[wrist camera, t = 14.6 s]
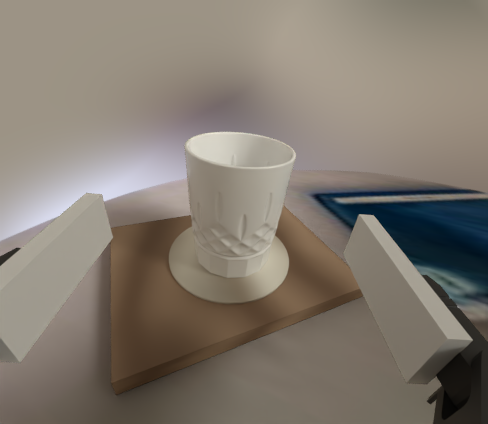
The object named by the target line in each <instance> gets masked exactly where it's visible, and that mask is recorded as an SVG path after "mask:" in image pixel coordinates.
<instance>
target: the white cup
mask: <svg viewBox="0 0 488 424" xmlns="http://www.w3.org/2000/svg"><path fill="white" fill-rule="evenodd" d="M185 155H186V168H187V180H188V193H189V204H190V212H191V221H192V230H193V234H194V243H195V252H196V255H197V259H198V262H199V264H201V265H202V266H203V267H204V268H205V269H206V270H208V271H209V272H210V273H212V274H216V275H219V276H222V277H225V278H241V277H247V276H249V275H251V274H254V273H256V272H258V271H260V270H261V268H262V267H263V266H264V264H265V263H266V262H267V260H268V257H269V253H270V249H271V245H272V241H273V238H274V236H275V233H276V230H277V226H278V222H279V219H280V216H281V212H282V209H283V205H284V201H285V197H286V193H287V189H288V185H289V181H290V177H291V174H292V170H293V166H294V162H295V158H296V153H295V151H294V150H293V149H292V148H291V147H289V146H288V145H287V144H285V143H283V142H281V141H278V140H275V139H272V138H268V137H265V136H261V135H256V134H249V133H240V132H213V133H206V134H201V135H197V136H195V137H192V138H190V139H189V140H188V141H186V143H185Z"/></svg>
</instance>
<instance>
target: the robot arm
mask: <svg viewBox="0 0 488 424" xmlns="http://www.w3.org/2000/svg"><path fill="white" fill-rule="evenodd" d="M112 238H113V235H112V232H111V228H110V224H109V220H108V216H107V212H106V208H105V205H104V201H103V197H102V194H91V193H86V194H85V195H84V196H82V197H81V198H80V199H79V200H78V201H76V202H75V203H74V204H73V205H72V206H71V207H69V208H68V209H67V210H66V211H65V212H64V213H62V214H61V215H60V216H59V217H58V218H56V219H55V220H54V221H53V222H52V223H50V224H49V225H48V226H47V227H46V228H45V229H43V230H42V231H41V232H40V233H39V234H38V235H36V236H35V237H34V238H33V239H32V240H30V241H29V242H28V243H27V244H26V245H25V246H23V247H22V248H15V249H14V250H12V251H10V252H8V253H6V254H4V255H2V256H0V362H13V363H21V361H22V360H23V359H24V357H25V356H26V355H27V353H28V352H29V350H30V349H31V348H32V346H33V345H34V344H35V342H36V341H37V340H38V338H39V337H40V336H41V334H42V333H43V332H44V330H45V329H46V328H47V326H48V325H49V323H50V322H51V321H52V319H53V318H54V317H55V315H56V314H57V313H58V311H59V310H60V309H61V307H62V306H63V305H64V303H65V302H66V301H67V299H68V298H69V296H70V295H71V294H72V292H73V291H74V290H75V288H76V287H77V286H78V284H79V283H80V282H81V280H82V279H83V278H84V276H85V275H86V274H87V272H88V271H89V269H90V268H91V267H92V265H93V264H94V263H95V261H96V260H97V259H98V257H99V256H100V255H101V253H102V252H103V251H104V249H105V248H106V247H107V245H108V244H109V242H110V241H111V240H112ZM343 255H344V257H345V259H346V261H347V263H348V265H349V267H350V269H351V271H352V273H353V275H354V277H355V279H356V281H357V283H358V286H359V288H360V290H361V292H362V294H363V296H364V298H365V300H366V302H367V304H368V306H369V308H370V310H371V312H372V314H373V316H374V318H375V320H376V322H377V325H378V327H379V329H380V331H381V333H382V335H383V337H384V339H385V341H386V343H387V345H388V347H389V349H390V351H391V353H392V355H393V357H394V359H395V362H396V364H397V366H398V368H399V370H400V372H401V374H402V376H403V378H404V380H405V382H406V383H412V384H428V383H429V382H430V381H431V380H432V379H433V378H434V377H435V376H437V378H438V379H439V381H440V383H441V384H442V386H441V387H440V388H439V389H438V390H437V391H436V392H434V393H433V394H432V395H431V396H430V397H429V399H428V400H427V402H428V403H429V404H431V403H433V402H434V401H435V400H436V399H437V401H436V408H435V415H434V422H433V424H488V342H487V341H486V340H485V338H484V337H483V336H482V335H481V334H480V332H479V331H478V330H477V329H476V328H475V326H474V325H473V324H472V323H471V322H470V321H469V319H468V318H467V317H466V316H465V315H464V313H463V312H462V311H461V310H460V309H459V308H457V305H456V304H455V303H454V302H453V300H452V299H449V296H448V294H447V293H446V292H445V291H444V290H443V289H442V287H441V286H440V285H439V284H437V283H436V282H435V281H434V280H432V279H431V278H430V277H428V276H427V275H421V274H420V273H419V272H418V271H417V269H416V268H415V267H414V266H413V264H412V263H411V262H410V260H409V259H408V258H407V257H406V255H405V254H404V253H403V252H402V250H401V249H400V248H399V247H398V245H397V244H396V243H395V242H394V240H393V239H392V238H391V237H390V235H389V234H388V233H387V232H386V230H385V229H384V228H383V227H382V225H381V224H380V223H379V222H378V220H377V219H376V218H375V217H374V215H362V214H359V216H358V218H357V221H356V223H355V226H354V228H353V231H352V233H351V236H350V238H349V241H348V243H347V246H346V248H345V251H344V253H343Z"/></svg>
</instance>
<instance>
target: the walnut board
mask: <svg viewBox="0 0 488 424" xmlns="http://www.w3.org/2000/svg"><path fill="white" fill-rule="evenodd" d="M111 232H112V235H113V238H112V240H111V241H110V245H111V384H112V386H113V389H114V391H115V393H116V395H118V394H120V393H123V392H125V391H128V390H130V389H133V388H135V387H138V386H140V385H143V384H145V383H148V382H150V381H153V380H155V379H158V378H160V377H163V376H165V375H168V374H170V373H173V372H175V371H178V370H180V369H183V368H185V367H188V366H190V365H193V364H195V363H198V362H200V361H203V360H205V359H208V358H210V357H213V356H215V355H218V354H220V353H223V352H225V351H228V350H230V349H233V348H235V347H238V346H240V345H243V344H245V343H248V342H250V341H252V340H255V339H257V338H260V337H262V336H265V335H267V334H270V333H272V332H275V331H277V330H280V329H282V328H285V327H287V326H290V325H292V324H295V323H297V322H300V321H302V320H305V319H307V318H310V317H312V316H315V315H317V314H320V313H322V312H325V311H327V310H330V309H332V308H335V307H337V306H340V305H342V304H345V303H347V302H350V301H352V300H355V299H357V298H360V297H362V296H363V294H362V292H361V290H360V288H359V286H358V283H357V281H356V279H355V277H354V275H353V273H352V271H351V269H350V267H349V266H348V265H347V264H346V263H345V262H343V261H342V260H341V259H340V258H339V257H338V256H337V255H336V254H335V253H334V252H333V251H332V250H331V249H330V248H328V247H327V246H326V245H325V244H324V243H323V242H322V241H321V240H320V239H319V238H318V237H317V236H316V235H315V234H314V233H312V232H311V231H310V230H309V229H308V228H307V227H306V226H305V225H304V224H303V223H302V222H301V221H300V220H299V219H297V218H296V217H295V216H294V215H293V214H292V213H291V212H290V211H289V210H288V209H287V208H286V207H285V206H284V205H283V209H282V212H281V216H280V219H279V222H278V226H277V230H276V233H275V236H274V238H273V241H272V245H271V249H270V253H269V257H268V260H267V262H266V263H265V264H264V266H263V267H262V268H261V270H260V271H258V272H256V273H254V274H251V275H249V276H247V277H241V278H225V277H222V276H219V275H216V274H212V273H210V272H209V271H208V270H206V269H205V268H204V267H203V266H202V265H201V264H199V262H198V259H197V255H196V252H195V243H194V234H193V230H192V221H191V215H189V216H183V217H177V218H171V219H164V220H158V221H152V222H145V223H139V224H133V225H126V226H120V227H114V228H111Z"/></svg>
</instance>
